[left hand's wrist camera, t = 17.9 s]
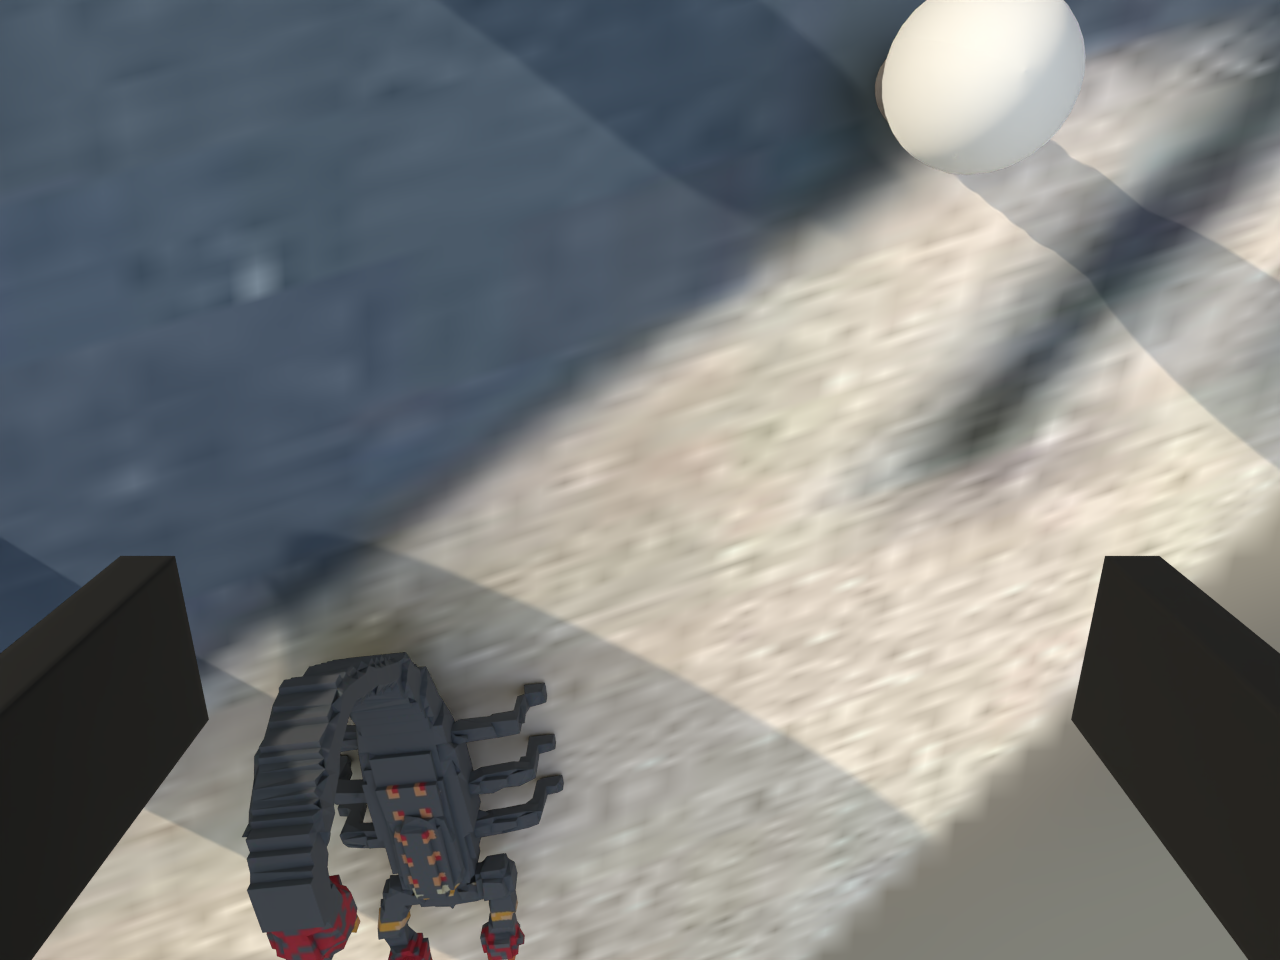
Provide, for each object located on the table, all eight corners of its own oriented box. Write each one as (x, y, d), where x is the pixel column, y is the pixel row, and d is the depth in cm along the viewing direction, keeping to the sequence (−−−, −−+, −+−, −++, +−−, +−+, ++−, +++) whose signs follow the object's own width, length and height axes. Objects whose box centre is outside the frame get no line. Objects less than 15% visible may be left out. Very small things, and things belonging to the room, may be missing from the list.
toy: (517, 538, 47) (447, 767, 30) (589, 919, 57) (567, 1258, 40) (269, 566, 48) (62, 807, 31) (382, 938, 57) (272, 1281, 40)
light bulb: (820, 132, 40) (883, 131, 30) (892, -28, 38) (987, -88, 27) (953, 192, 41) (1058, 212, 31) (1031, 40, 39) (1173, 7, 28)
